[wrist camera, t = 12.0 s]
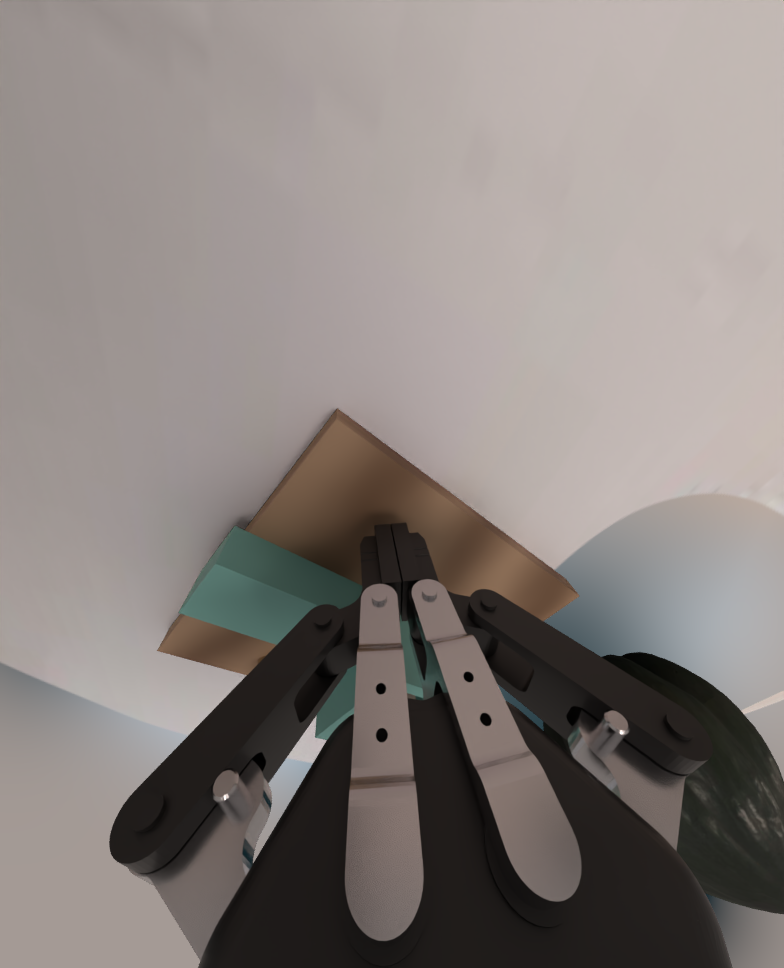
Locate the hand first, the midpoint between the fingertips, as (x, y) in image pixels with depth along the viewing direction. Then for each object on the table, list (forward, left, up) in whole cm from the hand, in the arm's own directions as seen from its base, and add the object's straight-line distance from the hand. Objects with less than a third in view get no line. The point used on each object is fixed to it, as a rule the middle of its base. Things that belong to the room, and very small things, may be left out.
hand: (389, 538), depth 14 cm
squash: (+31, -3, -3) cm, 31 cm away
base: (+5, -6, -3) cm, 8 cm away
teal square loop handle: (+1, -6, -1) cm, 6 cm away
